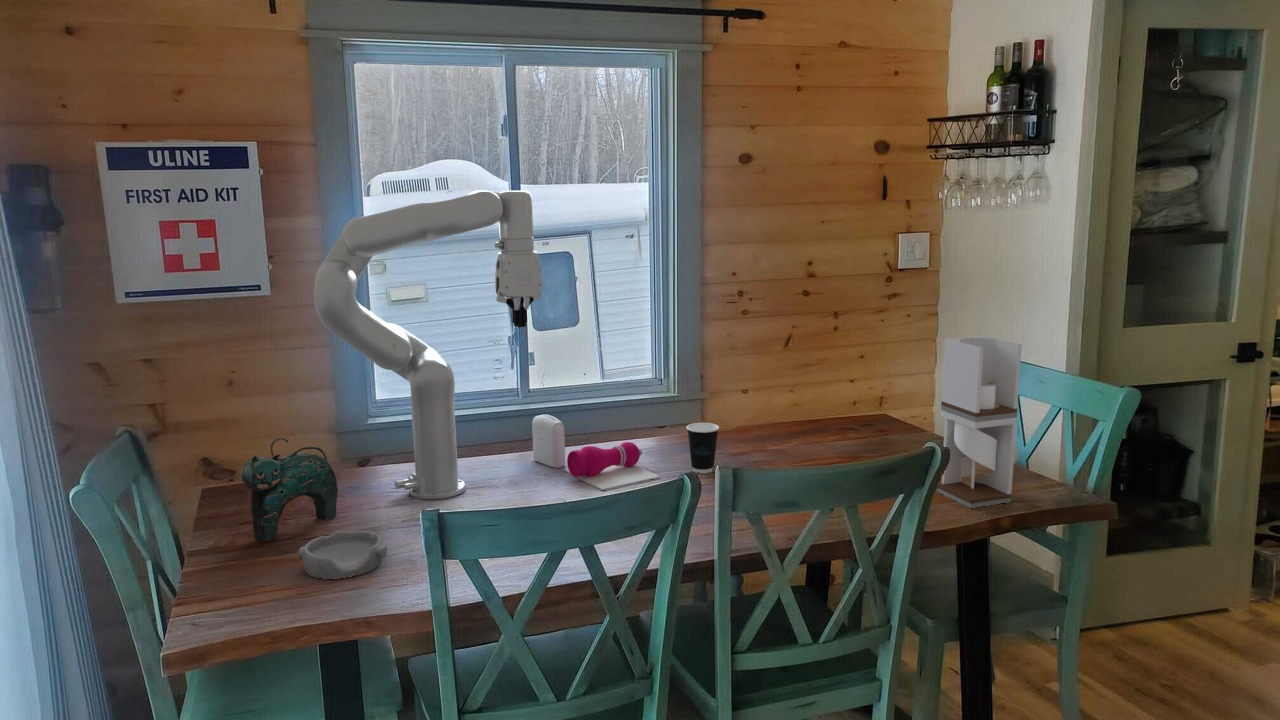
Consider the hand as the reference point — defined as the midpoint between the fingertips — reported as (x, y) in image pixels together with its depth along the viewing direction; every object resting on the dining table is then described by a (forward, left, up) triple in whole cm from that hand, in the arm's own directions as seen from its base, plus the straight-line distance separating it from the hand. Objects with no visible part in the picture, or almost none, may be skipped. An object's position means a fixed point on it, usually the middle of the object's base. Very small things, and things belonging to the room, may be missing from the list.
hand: (519, 326), depth 212 cm
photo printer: (+11, +9, -37) cm, 40 cm away
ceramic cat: (-53, 0, -37) cm, 65 cm away
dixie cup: (+39, -18, -37) cm, 57 cm away
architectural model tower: (+76, -68, -37) cm, 109 cm away
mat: (+19, -8, -37) cm, 42 cm away
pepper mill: (+9, -7, -33) cm, 35 cm away
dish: (-50, -25, -38) cm, 67 cm away
